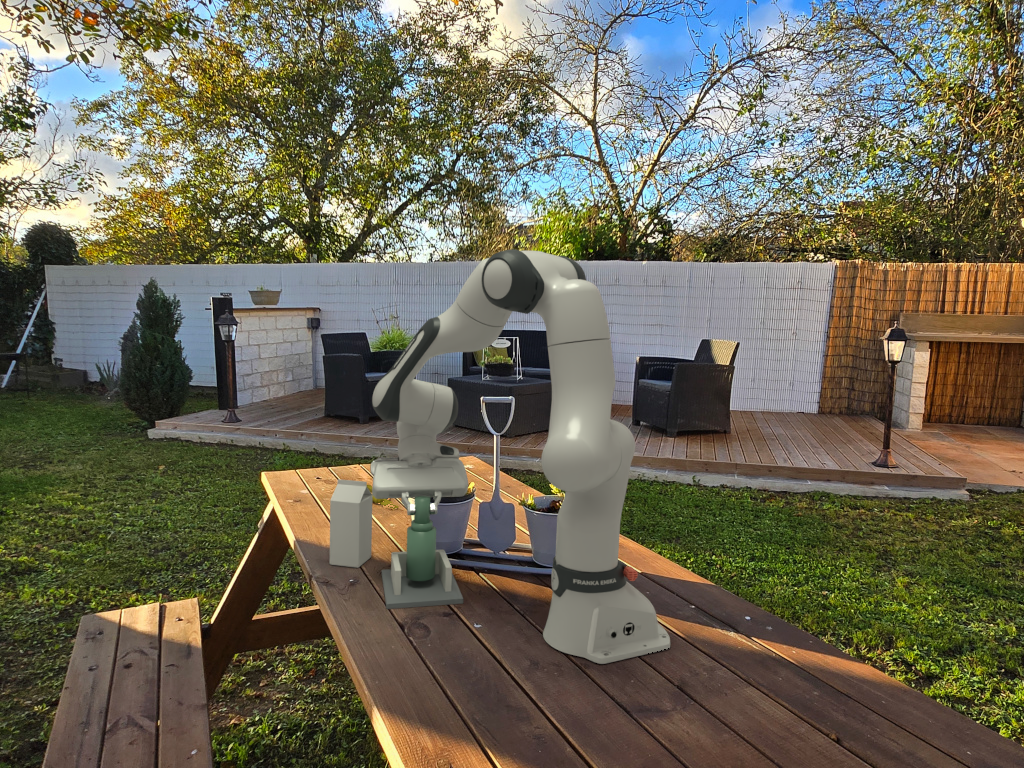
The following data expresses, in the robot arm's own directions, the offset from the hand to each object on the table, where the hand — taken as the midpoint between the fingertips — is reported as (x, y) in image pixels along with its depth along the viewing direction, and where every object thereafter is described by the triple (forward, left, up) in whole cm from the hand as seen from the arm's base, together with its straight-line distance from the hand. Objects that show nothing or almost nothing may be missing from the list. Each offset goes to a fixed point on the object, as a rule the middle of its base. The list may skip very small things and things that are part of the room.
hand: (422, 513), depth 132 cm
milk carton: (+14, -19, -16) cm, 28 cm away
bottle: (0, -1, -13) cm, 13 cm away
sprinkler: (+7, -67, -17) cm, 70 cm away
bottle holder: (0, -1, -16) cm, 16 cm away
